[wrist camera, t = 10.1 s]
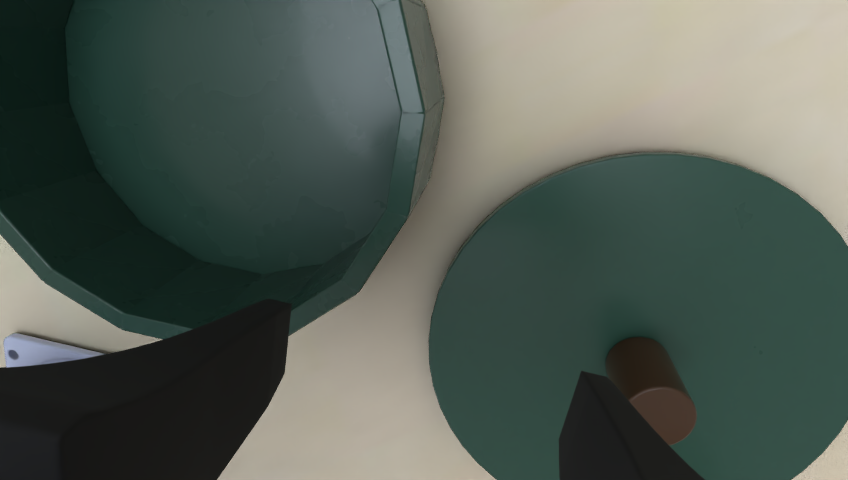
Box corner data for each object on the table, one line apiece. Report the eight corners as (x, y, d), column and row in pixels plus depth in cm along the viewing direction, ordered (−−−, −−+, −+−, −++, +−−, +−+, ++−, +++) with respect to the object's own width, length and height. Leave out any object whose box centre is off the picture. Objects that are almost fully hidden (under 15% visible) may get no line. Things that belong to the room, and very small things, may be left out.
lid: (940, 198, 19) (1061, 241, 15) (760, 544, 25) (811, 646, 21) (473, 109, 20) (464, 126, 16) (404, 459, 26) (384, 538, 22)
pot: (480, -95, 18) (469, -148, 13) (406, 315, 24) (379, 390, 19) (44, -167, 19) (-119, -240, 14) (69, 241, 25) (-43, 292, 20)
